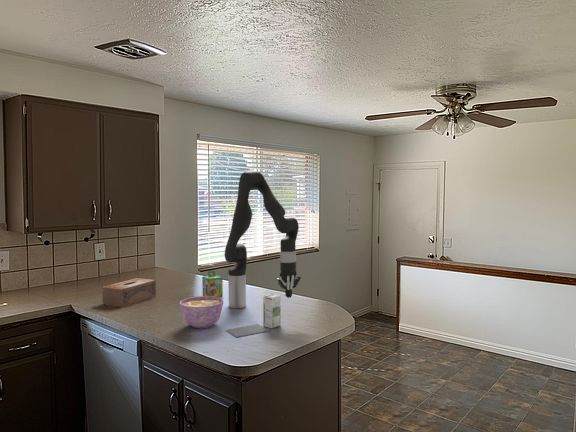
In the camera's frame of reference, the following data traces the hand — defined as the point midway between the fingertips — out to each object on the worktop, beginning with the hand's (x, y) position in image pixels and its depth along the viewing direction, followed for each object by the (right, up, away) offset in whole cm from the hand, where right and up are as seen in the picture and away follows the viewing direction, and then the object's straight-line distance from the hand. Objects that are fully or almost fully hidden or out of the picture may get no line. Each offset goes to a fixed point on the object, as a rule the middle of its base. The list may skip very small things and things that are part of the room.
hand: (288, 297), depth 212 cm
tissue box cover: (-90, -10, +46) cm, 102 cm away
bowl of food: (-40, -13, -2) cm, 42 cm away
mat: (-18, -13, -10) cm, 25 cm away
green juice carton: (-44, -9, +53) cm, 70 cm away
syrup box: (-8, -13, -4) cm, 15 cm away
